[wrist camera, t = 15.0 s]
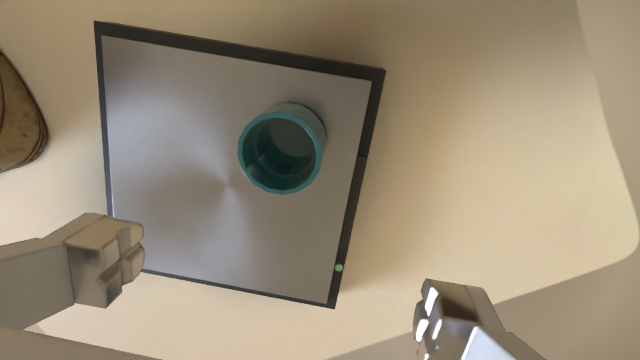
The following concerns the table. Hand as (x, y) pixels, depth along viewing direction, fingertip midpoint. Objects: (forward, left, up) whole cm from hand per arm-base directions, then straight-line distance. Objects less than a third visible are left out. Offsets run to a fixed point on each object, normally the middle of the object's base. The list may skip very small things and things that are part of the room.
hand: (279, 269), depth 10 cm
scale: (+9, +8, -25) cm, 27 cm away
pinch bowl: (+3, +2, -22) cm, 22 cm away
